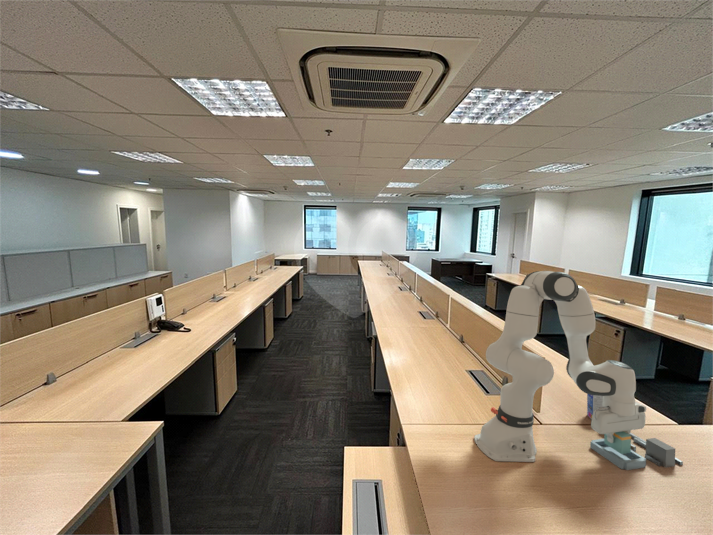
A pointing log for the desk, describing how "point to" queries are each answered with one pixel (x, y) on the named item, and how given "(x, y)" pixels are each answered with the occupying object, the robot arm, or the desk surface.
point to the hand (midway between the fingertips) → (617, 441)
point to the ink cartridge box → (593, 403)
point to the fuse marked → (620, 442)
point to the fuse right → (661, 452)
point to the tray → (618, 456)
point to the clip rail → (647, 456)
